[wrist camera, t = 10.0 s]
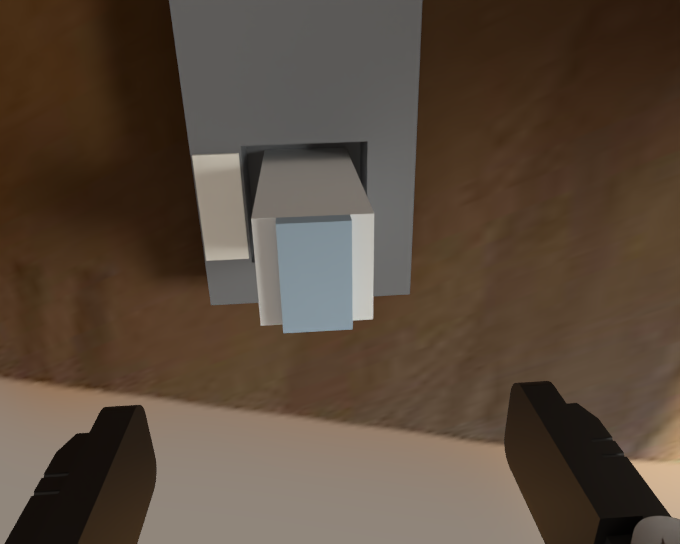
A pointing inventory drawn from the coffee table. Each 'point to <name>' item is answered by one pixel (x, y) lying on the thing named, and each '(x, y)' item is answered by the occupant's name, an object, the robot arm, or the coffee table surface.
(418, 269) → the coffee table surface
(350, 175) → the plug
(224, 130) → the socket panel
